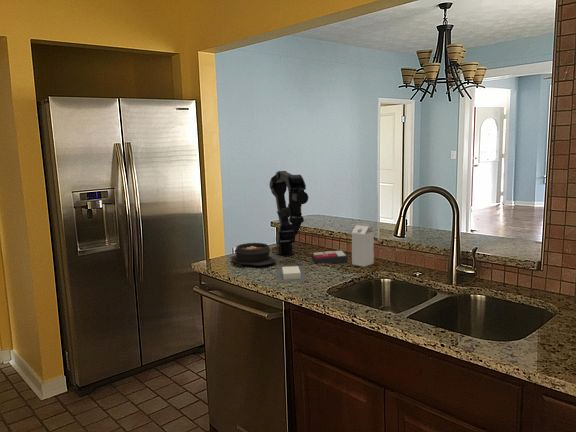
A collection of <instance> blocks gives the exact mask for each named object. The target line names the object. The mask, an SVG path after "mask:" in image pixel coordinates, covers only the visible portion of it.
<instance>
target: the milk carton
mask: <svg viewBox="0 0 576 432" xmlns="http://www.w3.org/2000/svg"><path fill="white" fill-rule="evenodd" d="M374 234H375V232H374V230H373V229H372V228H371V227H370V223H363V222H356V225H355V227H354V228H353V230H352V231H351V265H353V266H359V267H363V268H364V267H367V266H370V265H374V264H375V263H374V261H375V260H374V259H375V257H374V254H375V253H374V252H375V251H374V250H375V249H374V247H375V244H374V243H375V242H374V241H375V240H374V239H375V237H374Z"/></svg>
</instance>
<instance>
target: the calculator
mask: <svg viewBox="0 0 576 432" xmlns="http://www.w3.org/2000/svg"><path fill="white" fill-rule="evenodd" d="M311 257H312V260H313V261H314V263H315V265H316V264H319V265H320V264H347V263H348V255H347V254H346V253H345V252H344V251H343V250H335V251H334V250H329V251H319V252H313V253H312V254H311Z"/></svg>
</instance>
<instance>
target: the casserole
mask: <svg viewBox="0 0 576 432" xmlns="http://www.w3.org/2000/svg"><path fill="white" fill-rule="evenodd" d="M270 252H271V248H270V246H269V245H268V244H267V243H263V242H261V243H260V242H247V243H243V244H239V245H237V246H236V247H235V250H234V254H235V255H232V256H231V257H230V260H231V261H233V262H234V263H236V264H239V265H242V266H246V267H247V266H249V267H252V266H253V267H257V266H267V265H271V264H274V263H276V262H277V259H274V258H273V257H272V256H270Z"/></svg>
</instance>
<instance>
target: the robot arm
mask: <svg viewBox="0 0 576 432" xmlns="http://www.w3.org/2000/svg"><path fill="white" fill-rule="evenodd" d="M269 189H270V190H271V194H272V195H273V196H274V197H275V202H276V207H277V211H276V213H277V216H278V221H279V225H278V228H277V233H276V236H275V243H276V244H278V253H276V255H277V256H283V257H288V256H291V255H295V252H293V243H295V241H296V236H298V233H299V231H300V228H301V225H302V223H304V222H305V221H304V220H305V219H304V217H303V214H302V205H305V204H306V203H308V201H309V195H308V193H307V192H306V191H305V190H307V186H306V183H305V180H304V177H303V176H302V175H301V174H292V173H290V172H288V171H286V170H279V171H276V172H275V175H273V176H272V177H271V178H270V181H269ZM287 191H288V204H287V203H286V197H285V194H286V192H287Z"/></svg>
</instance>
